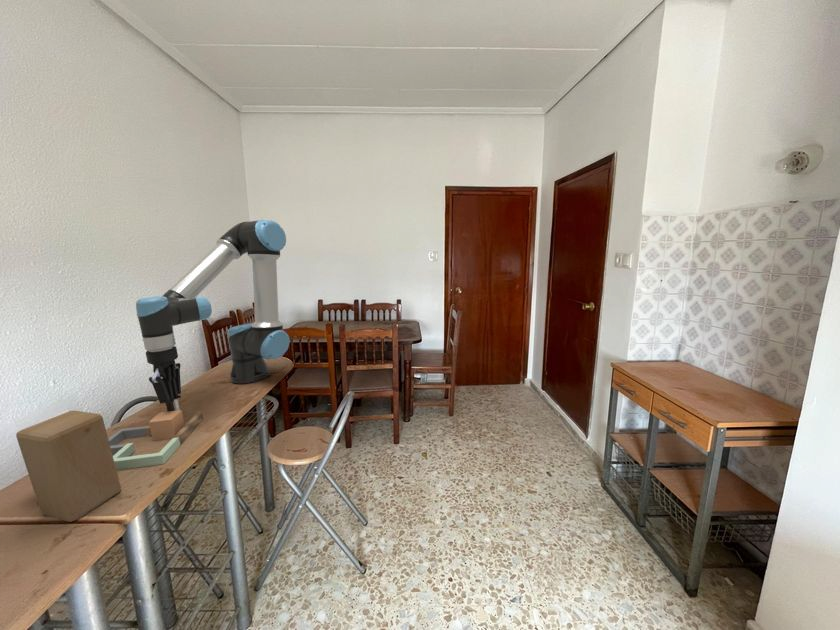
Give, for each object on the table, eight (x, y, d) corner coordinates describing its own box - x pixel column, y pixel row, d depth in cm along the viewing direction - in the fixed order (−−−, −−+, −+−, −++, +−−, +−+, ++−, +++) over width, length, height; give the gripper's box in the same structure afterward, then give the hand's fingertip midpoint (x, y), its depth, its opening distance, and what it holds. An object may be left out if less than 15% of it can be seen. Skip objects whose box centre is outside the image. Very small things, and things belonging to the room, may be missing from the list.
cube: (164, 429, 105) (160, 412, 104) (185, 427, 106) (181, 409, 105) (152, 440, 100) (148, 422, 98) (175, 437, 101) (171, 419, 99)
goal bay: (129, 451, 95) (127, 443, 94) (180, 445, 97) (178, 437, 96) (107, 471, 86) (105, 462, 86) (164, 463, 89) (162, 455, 88)
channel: (159, 424, 109) (158, 417, 108) (203, 418, 111) (202, 412, 111) (129, 451, 95) (127, 443, 94) (180, 445, 97) (178, 437, 96)
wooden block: (124, 490, 79) (103, 412, 75) (71, 524, 70) (44, 437, 65) (94, 484, 82) (72, 408, 78) (39, 516, 72) (11, 431, 68)
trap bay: (121, 436, 102) (120, 429, 102) (149, 433, 104) (147, 425, 103) (94, 458, 92) (92, 450, 91) (125, 454, 93) (123, 446, 93)
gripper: (159, 343, 108) (173, 411, 113) (133, 356, 95) (149, 431, 100) (185, 341, 109) (197, 408, 114) (162, 353, 97) (177, 428, 101)
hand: (175, 419), depth 107 cm, fingers closed
